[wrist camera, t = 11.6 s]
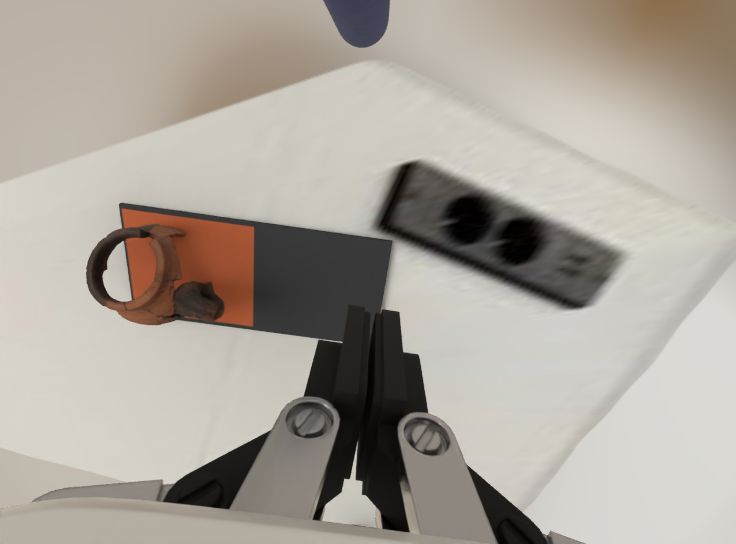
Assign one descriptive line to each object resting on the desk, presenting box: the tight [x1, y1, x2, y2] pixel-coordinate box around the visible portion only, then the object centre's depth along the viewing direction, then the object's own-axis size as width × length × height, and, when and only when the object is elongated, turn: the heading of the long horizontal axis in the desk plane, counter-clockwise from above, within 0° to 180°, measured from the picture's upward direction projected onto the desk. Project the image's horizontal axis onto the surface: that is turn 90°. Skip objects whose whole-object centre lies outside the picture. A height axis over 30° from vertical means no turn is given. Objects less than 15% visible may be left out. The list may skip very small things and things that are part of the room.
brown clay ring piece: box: [86, 224, 225, 325], centre depth 34 cm, size 12×10×8 cm
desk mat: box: [119, 203, 392, 343], centre depth 37 cm, size 12×26×1 cm, turn 82°
